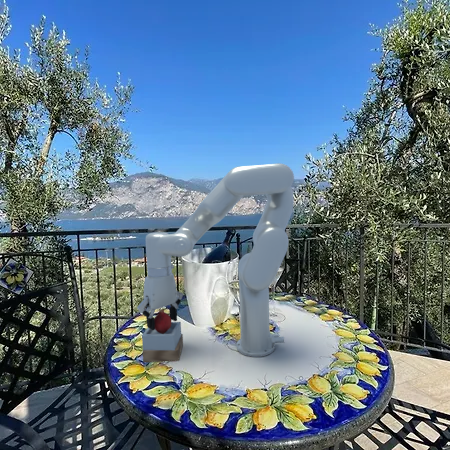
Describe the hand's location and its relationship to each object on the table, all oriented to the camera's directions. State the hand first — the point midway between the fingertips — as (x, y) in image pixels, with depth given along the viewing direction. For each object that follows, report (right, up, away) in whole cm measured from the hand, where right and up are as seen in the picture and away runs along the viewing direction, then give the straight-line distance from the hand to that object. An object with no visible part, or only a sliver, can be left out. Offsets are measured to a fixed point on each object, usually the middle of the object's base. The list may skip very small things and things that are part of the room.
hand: (162, 324), depth 100 cm
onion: (0, -3, 0) cm, 3 cm away
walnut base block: (0, -10, +1) cm, 10 cm away
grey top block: (0, -6, +1) cm, 6 cm away
